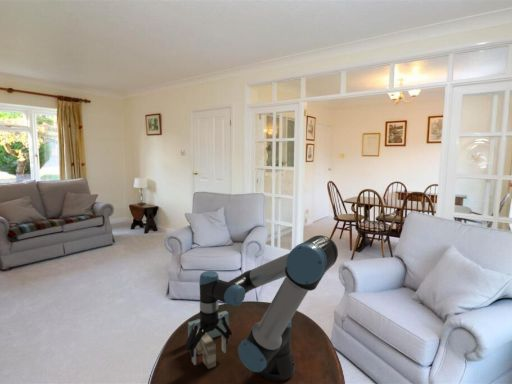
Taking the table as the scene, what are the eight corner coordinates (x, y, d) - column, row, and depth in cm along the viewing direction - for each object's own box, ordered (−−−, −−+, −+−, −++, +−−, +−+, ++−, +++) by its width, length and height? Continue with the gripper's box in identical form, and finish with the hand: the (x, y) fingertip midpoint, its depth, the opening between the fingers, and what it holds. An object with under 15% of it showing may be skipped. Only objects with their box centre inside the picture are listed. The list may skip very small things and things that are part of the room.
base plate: (225, 329, 152) (225, 310, 151) (228, 332, 150) (228, 313, 149) (188, 342, 141) (187, 322, 140) (190, 346, 139) (190, 325, 138)
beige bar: (216, 365, 126) (215, 343, 125) (208, 369, 124) (207, 346, 123) (200, 346, 139) (200, 325, 138) (193, 348, 137) (192, 328, 136)
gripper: (231, 297, 134) (230, 342, 136) (176, 313, 120) (177, 362, 122) (239, 304, 127) (239, 351, 130) (183, 322, 114) (183, 374, 116)
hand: (209, 357), depth 126 cm, fingers open, 13 cm apart
